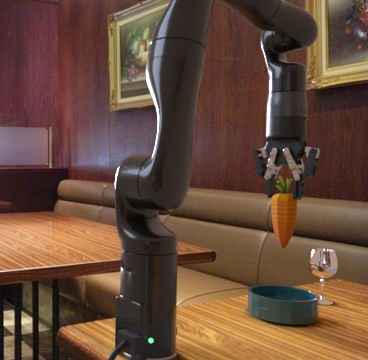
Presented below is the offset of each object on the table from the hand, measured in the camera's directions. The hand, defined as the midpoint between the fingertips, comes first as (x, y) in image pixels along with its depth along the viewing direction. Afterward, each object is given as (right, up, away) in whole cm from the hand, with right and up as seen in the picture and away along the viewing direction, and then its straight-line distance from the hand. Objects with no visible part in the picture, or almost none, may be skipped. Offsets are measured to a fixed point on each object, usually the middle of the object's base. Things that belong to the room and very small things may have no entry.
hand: (284, 198), depth 102 cm
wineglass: (+14, -24, +12) cm, 31 cm away
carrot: (0, -11, 0) cm, 11 cm away
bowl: (0, -25, +1) cm, 25 cm away
